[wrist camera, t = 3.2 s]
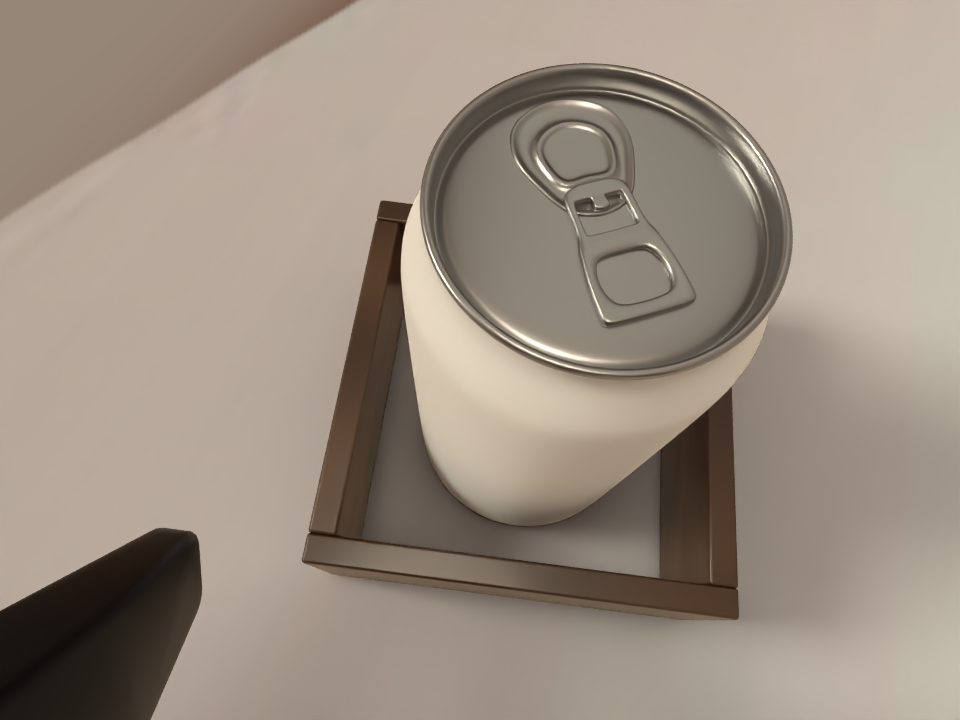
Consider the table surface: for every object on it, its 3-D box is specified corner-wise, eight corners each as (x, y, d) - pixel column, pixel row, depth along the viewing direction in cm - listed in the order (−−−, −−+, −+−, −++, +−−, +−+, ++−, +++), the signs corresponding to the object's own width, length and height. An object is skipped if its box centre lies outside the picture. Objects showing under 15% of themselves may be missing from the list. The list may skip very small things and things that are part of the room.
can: (579, 314, 22) (706, 11, 11) (654, 491, 20) (908, 333, 9) (399, 365, 21) (343, 87, 10) (457, 558, 19) (467, 471, 8)
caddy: (682, 620, 19) (740, 620, 15) (329, 573, 19) (300, 562, 15) (682, 305, 23) (728, 243, 19) (391, 267, 23) (380, 199, 19)
